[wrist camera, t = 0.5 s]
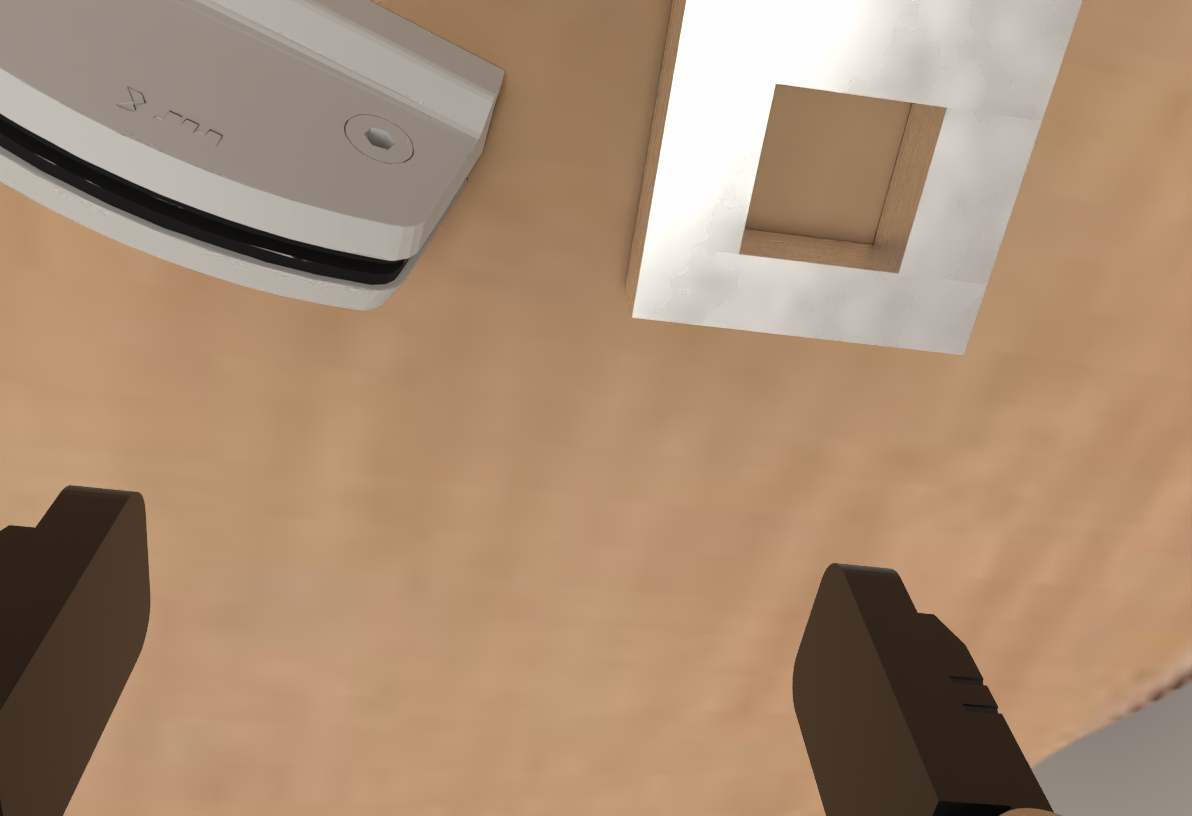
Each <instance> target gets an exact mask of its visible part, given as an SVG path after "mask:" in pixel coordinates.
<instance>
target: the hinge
mask: <svg viewBox="0 0 1192 816" xmlns="http://www.w3.org/2000/svg"><path fill="white" fill-rule="evenodd" d="M504 74H505V71H504V70H502V69H500V68H498V67H497V66H495V65H493V64H491V63H489V62H487V61H485V60H483V59H481V58H479V57H477V56H475V55H473V54H472V53H470V52H468V51H466V50H464V49H462V48H460V47H458V46H456V45H454V44H452V43H450V42H448V41H447V40H445V39H443V38H441V37H439V36H437V35H435V34H433V33H431V32H429V31H427V30H425V29H423V28H422V27H420V26H418V25H416V24H414V23H412V22H410V21H408V20H406V19H404V18H402V17H400V16H398V15H397V14H395V13H393V12H391V11H389V10H387V9H385V8H383V7H381V6H379V5H377V4H375V3H373V2H372V1H370V0H0V181H1V182H2V183H4V184H6V185H8V186H9V187H11V188H13V189H15V190H17V191H18V192H20V193H22V194H24V195H25V196H27V197H29V198H31V199H32V200H34V201H36V202H38V203H40V204H41V205H43V206H45V207H47V208H49V209H51V210H53V211H55V212H57V213H59V214H61V215H63V216H65V217H67V218H69V219H71V220H73V221H75V222H77V223H79V224H81V225H83V226H86V227H88V228H90V229H92V230H94V231H96V232H99V233H101V234H103V235H105V236H107V237H109V238H112V239H114V240H116V241H118V242H121V243H123V244H126V245H128V246H131V247H133V248H136V249H138V250H141V251H143V252H146V253H148V254H151V255H153V256H156V257H158V258H161V259H163V260H166V261H169V262H171V263H174V264H177V265H180V266H183V267H186V268H189V269H192V270H195V271H198V272H200V273H203V274H207V275H210V276H213V277H216V278H219V279H222V280H226V281H229V282H232V283H235V284H238V285H242V286H246V287H250V288H253V289H257V290H261V291H265V292H269V293H272V294H276V295H280V296H285V297H289V298H294V299H299V300H304V301H309V302H314V303H318V304H323V305H330V306H336V307H343V308H349V309H355V310H362V311H365V310H373V309H376V308H379V307H380V306H382V305H383V304H384V303H385V302H386V301H387V300H388V299H389V298H390V297H391V296H392V294H393V293H394V292H395V291H396V290H397V289H398V288H399V287H400V286H401V285H402V283H403V282H404V281H405V280H406V278H407V277H408V275H409V274H410V272H411V270H412V269H413V267H414V266H415V264H416V262H417V261H418V259H419V258H420V256H421V255H422V253H423V251H424V250H425V248H426V247H427V245H428V243H429V242H430V240H431V239H432V237H433V235H434V234H435V232H436V231H437V229H438V228H439V226H440V224H441V223H442V221H443V220H444V218H445V216H446V215H447V213H448V212H449V210H450V208H451V207H452V205H453V204H454V202H455V200H456V199H457V197H458V196H459V194H460V193H461V191H462V189H463V188H464V186H465V185H466V183H467V180H465V179H466V177H467V176H468V174H469V172H470V171H471V169H472V168H473V166H474V165H475V163H476V161H477V160H478V158H479V157H480V155H481V154H482V152H483V148H484V144H485V140H486V136H487V132H488V129H489V125H490V121H491V117H492V113H493V109H494V106H495V103H496V100H497V97H498V94H499V91H500V89H501V86H502V82H503V78H504Z"/></svg>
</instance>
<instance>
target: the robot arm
mask: <svg viewBox="0 0 1192 816" xmlns="http://www.w3.org/2000/svg"><path fill="white" fill-rule="evenodd" d="M149 614H150V583H149V565H148V548H147V530H146V512H145V504H144V500H143V497H142V495H141V494H140V493H139V492H132V491H122V490H112V489H102V488H92V487H81V486H71V485H70V486H67V487H66V488H64V489H63V490H62V491H61V493H60V494H59V495H58V497H57V498H56V500H55V501H54V502H53V504H52V505H51V507H50V508H49V509H48V511H47V512H46V514H45V515H44V516H43V518H42V519H41V521H40V522H39V523H38V525H37V526H36V528H33V527H22V526H12V525H9V526H7V527H6V528H4V529H3V530H1V531H0V816H63V814H64V812H65V810H66V808H67V806H68V804H69V802H70V800H71V797H72V795H73V793H74V791H75V789H76V787H77V785H78V783H79V781H80V779H81V777H82V774H83V772H84V770H85V768H86V766H87V764H88V762H89V760H90V758H91V756H92V753H93V751H94V749H95V747H96V745H97V743H98V741H99V739H100V737H101V735H102V733H103V730H104V728H105V726H106V724H107V722H108V720H109V718H110V716H111V714H112V712H113V710H114V707H115V705H116V703H117V701H118V699H119V697H120V695H121V693H122V691H123V689H124V686H125V684H126V682H127V680H128V678H129V676H130V674H131V672H132V670H133V668H134V666H135V663H136V661H137V659H138V657H139V655H140V652H141V650H142V647H143V644H144V640H145V636H146V632H147V627H148V622H149ZM793 702H794V708H795V712H796V715H797V719H798V722H799V726H800V729H801V732H802V736H803V739H804V742H805V746H806V749H807V753H808V756H809V759H810V763H811V766H812V769H813V773H814V776H815V780H816V783H817V786H818V790H819V793H820V796H821V800H822V803H823V807H824V810H825V813H826V816H1061V815H1059V814H1056V813H1054V812H1053V810H1052V808H1051V806H1050V804H1049V802H1048V800H1047V798H1046V796H1045V795H1044V793H1043V791H1042V789H1041V787H1040V785H1039V783H1038V781H1037V779H1036V778H1035V776H1034V774H1033V772H1032V770H1031V768H1030V766H1029V764H1028V762H1027V761H1026V759H1025V757H1024V755H1023V753H1022V751H1021V749H1020V747H1019V745H1018V743H1017V742H1016V740H1015V738H1014V736H1013V734H1012V732H1011V730H1010V728H1009V726H1008V725H1007V723H1006V721H1005V719H1004V717H1003V715H1002V714H998V711H997V709H998V706H997V704H996V702H995V700H994V698H993V696H992V694H991V692H990V691H989V689H988V687H987V686H985V685H983V677H982V675H981V674H980V672H979V670H978V668H977V666H976V664H975V662H974V660H973V658H972V656H971V655H970V653H969V651H968V649H967V647H966V645H965V644H964V643H963V642H962V641H961V640H960V639H959V638H958V637H957V636H955V635H954V634H953V633H952V632H951V631H950V630H949V629H948V628H947V627H946V626H945V625H944V624H943V623H942V622H941V621H940V620H939V619H938V618H937V617H936V616H935V615H934V614H924V613H917V611H916V609H915V607H914V604H913V602H912V600H911V598H910V596H909V594H908V592H907V590H906V588H905V586H904V584H903V582H902V580H901V578H900V576H899V575H898V573H897V572H896V571H895V570H893V569H888V568H878V567H868V566H858V565H848V564H838V563H833V564H831V565H830V566H828V568H827V569H826V571H825V573H824V575H823V577H822V580H821V583H820V586H819V589H818V592H817V595H816V598H815V601H814V605H813V608H812V611H811V614H810V617H809V620H808V623H807V626H806V629H805V632H804V635H803V638H802V641H801V644H800V647H799V650H798V653H797V656H796V660H795V665H794V671H793Z"/></svg>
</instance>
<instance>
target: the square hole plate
mask: <svg viewBox="0 0 1192 816" xmlns="http://www.w3.org/2000/svg"><path fill="white" fill-rule="evenodd" d="M1082 1H1083V0H673V2H672V8H671V14H670V20H669V26H668V32H667V38H666V44H665V50H664V56H663V62H662V68H661V74H660V80H659V86H658V92H657V98H656V104H655V110H654V116H653V122H652V128H651V134H650V140H649V146H648V152H647V158H646V164H645V170H644V176H643V182H642V188H641V194H640V200H639V206H638V212H637V218H636V224H635V230H634V236H633V242H632V248H631V254H630V260H629V266H628V272H627V278H626V284H625V288H626V292H627V297H628V301H629V306H630V311H631V315H632V318H641V319H649V320H658V321H667V322H676V323H685V324H694V325H702V326H711V327H720V328H729V329H738V330H746V331H755V332H764V333H773V334H782V335H790V336H799V337H808V338H817V339H826V340H835V341H843V342H852V343H861V344H870V345H879V346H887V347H896V348H905V349H914V350H923V351H932V352H940V353H949V354H958V355H964V352H965V349H966V346H967V343H968V340H969V337H970V334H971V332H972V329H973V326H974V323H975V320H976V317H977V314H978V311H979V308H980V305H981V302H982V299H983V296H984V293H985V290H986V287H987V284H988V281H989V278H990V275H991V272H992V269H993V266H994V263H995V260H996V257H997V254H998V251H999V248H1000V245H1001V242H1002V239H1003V236H1004V233H1005V230H1006V227H1007V224H1008V221H1009V218H1010V215H1011V212H1012V209H1013V206H1014V203H1015V200H1016V197H1017V194H1018V191H1019V188H1020V185H1021V182H1022V179H1023V176H1024V173H1025V170H1026V168H1027V165H1028V162H1029V159H1030V156H1031V153H1032V150H1033V147H1034V144H1035V141H1036V138H1037V135H1038V132H1039V129H1040V126H1041V123H1042V120H1043V117H1044V114H1045V111H1046V108H1047V105H1048V102H1049V99H1050V96H1051V93H1052V90H1053V87H1054V84H1055V81H1056V78H1057V75H1058V72H1059V69H1060V66H1061V63H1062V60H1063V57H1064V54H1065V51H1066V48H1067V45H1068V42H1069V39H1070V36H1071V33H1072V30H1073V27H1074V24H1075V21H1076V18H1077V15H1078V12H1079V9H1080V6H1081V4H1082ZM776 84H783V85H790V86H797V87H804V88H811V89H818V90H826V91H833V92H840V93H847V94H854V95H861V96H868V97H875V98H882V99H889V100H896V101H903V102H910V103H912V107H911V110H910V114H909V117H908V121H907V125H906V128H905V132H904V135H903V139H902V143H901V146H900V150H899V153H898V157H897V161H896V164H895V168H894V172H893V175H892V179H891V182H890V186H889V190H888V193H887V197H886V200H885V204H884V208H883V211H882V215H881V218H880V222H879V226H878V229H877V233H876V236H875V240H874V244H873V245H870V244H862V243H854V242H846V241H838V240H830V239H822V238H814V237H806V236H798V235H790V234H782V233H774V232H766V231H758V230H750V229H744V228H745V223H746V219H747V214H748V209H749V205H750V200H751V196H752V191H753V186H754V182H755V177H756V172H757V168H758V163H759V159H760V154H761V149H762V145H763V140H764V136H765V131H766V126H767V122H768V117H769V112H770V108H771V103H772V99H773V94H774V89H775V85H776Z"/></svg>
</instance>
